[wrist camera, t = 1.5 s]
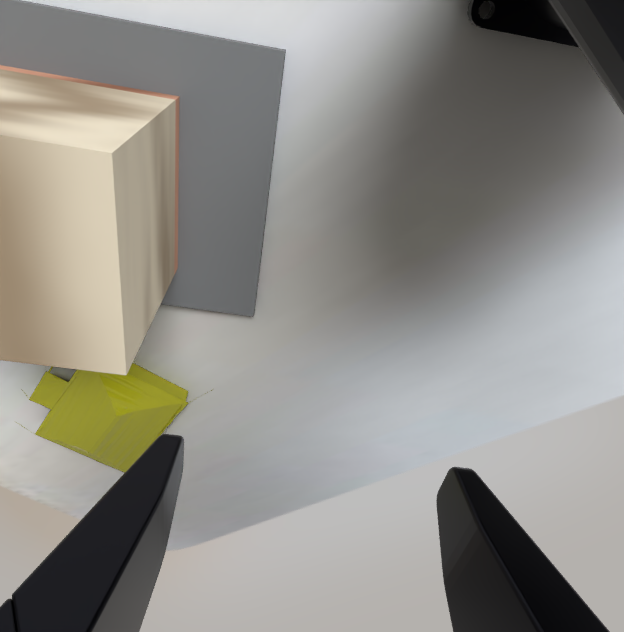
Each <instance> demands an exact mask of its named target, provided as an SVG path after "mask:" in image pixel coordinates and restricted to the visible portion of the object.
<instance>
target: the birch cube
mask: <svg viewBox="0 0 624 632" xmlns="http://www.w3.org/2000/svg"><path fill="white" fill-rule="evenodd" d="M179 98H180V96H174V95H169V94H163V93H157V92H151V91H146V90H140V89H134V88H129V87H123V86H117V85H111V84H106V83H100V82H94V81H89V80H83V79H77V78H71V77H66V76H60V75H54V74H49V73H43V72H37V71H31V70H26V69H20V68H14V67H9V66H3V65H0V360H4V361H12V362H21V363H29V364H37V365H45V366H53V367H62V368H70V369H78V370H86V371H94V372H102V373H111V374H119V375H127V373H128V371H129V369H130V367H131V365H132V363H133V361H134V359H135V357H136V354H137V352H138V350H139V348H140V346H141V344H142V342H143V340H144V338H145V336H146V334H147V331H148V329H149V327H150V325H151V323H152V321H153V319H154V317H155V315H156V313H157V310H158V308H159V306H160V304H161V302H162V300H163V298H164V296H165V294H166V292H167V289H168V287H169V285H170V283H171V281H172V279H173V277H174V275H175V273H176V271H177V269H178V188H179Z"/></svg>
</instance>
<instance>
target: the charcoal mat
mask: <svg viewBox="0 0 624 632" xmlns="http://www.w3.org/2000/svg"><path fill="white" fill-rule="evenodd" d="M285 52H286V50H283V49H278V48H272V47H267V46H262V45H256V44H251V43H246V42H240V41H235V40H230V39H224V38H219V37H214V36H208V35H203V34H198V33H192V32H187V31H182V30H176V29H171V28H166V27H160V26H155V25H150V24H144V23H139V22H134V21H128V20H123V19H118V18H112V17H107V16H102V15H96V14H91V13H86V12H80V11H75V10H70V9H64V8H59V7H54V6H48V5H43V4H38V3H32V2H27V1H21V0H0V65H3V66H9V67H14V68H20V69H26V70H31V71H37V72H43V73H49V74H54V75H60V76H66V77H71V78H77V79H83V80H89V81H94V82H100V83H106V84H111V85H117V86H123V87H129V88H134V89H140V90H146V91H151V92H157V93H163V94H169V95H174V96H180V98H179V188H178V269H177V271H176V273H175V275H174V277H173V279H172V281H171V283H170V285H169V287H168V289H167V292H166V294H165V296H164V298H163V300H162V302H161V304H164V305H171V306H178V307H186V308H193V309H200V310H208V311H215V312H223V313H230V314H237V315H245V316H252V317H254V311H255V303H256V295H257V287H258V278H259V270H260V262H261V253H262V245H263V236H264V228H265V220H266V211H267V203H268V194H269V186H270V178H271V169H272V161H273V152H274V144H275V136H276V127H277V119H278V110H279V102H280V94H281V85H282V77H283V68H284V60H285Z"/></svg>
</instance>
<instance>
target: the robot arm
mask: <svg viewBox="0 0 624 632" xmlns="http://www.w3.org/2000/svg"><path fill="white" fill-rule="evenodd" d="M484 1H488V2H490V5H491V11H490V13H489V15H488V16H486V17H485V18H481V17H480V15H479V7H480V5H481V4H482V3H483V2H484ZM468 17H469V20H470V22H471V23H472V24H473V25H475V26H477V27H481V28H485V29H490V30H495V31H500V32H506V33H511V34H516V35H521V36H526V37H531V38H536V39H541V40H546V41H551V42H556V43H561V44H566V45H571V46H576V47H579V48H580V49H581V51H582V52H583V54H584V55H585V57H586V58H587V60H588V61H589V63H590V64H591V66H592V67H593V69H594V70H595V72H596V73H597V75H598V76H599V78H600V79H601V81H602V82H603V84H604V85H605V87H606V88H607V90H608V92H609V93H610V95H611V96H612V98H613V99H614V101H615V102H616V104H617V105H618V107H619V108H620V110H621V111H622V113H623V114H624V0H470V3H469V6H468ZM183 456H184V439H183V437H182V436H178V435H169V434H162V435H160V436H159V437H158V438H157V439H156V440H155V441H154V442H153V443H152V444H151V445H150V446H149V448H148V449H147V450H146V451H145V452H144V453H143V454H142V455H141V456H140V457H139V458H138V459H137V460H136V462H135V463H134V464H133V465H132V466H131V467H130V468H129V469H128V470H127V471H126V472H125V473H124V474H123V476H122V477H121V478H120V479H119V480H118V481H117V482H116V483H115V484H114V485H113V486H112V487H111V488H110V490H109V491H108V492H107V493H106V494H105V495H104V496H103V497H102V498H101V499H100V500H99V501H98V502H97V504H96V505H95V506H94V507H93V508H92V509H91V510H90V511H89V512H88V513H87V514H86V515H85V516H84V518H83V519H82V520H81V521H80V522H79V523H78V524H77V525H76V526H75V527H74V529H72V530H71V532H70V533H69V534H68V535H67V536H66V537H65V538H64V539H63V540H62V542H60V543H59V545H58V546H57V547H56V548H55V549H54V550H53V551H52V552H51V553H50V554H49V555H48V556H47V557H46V559H45V560H44V561H43V562H42V563H41V564H40V565H39V566H38V567H37V568H36V569H35V570H34V571H33V573H32V574H31V575H30V576H29V577H28V578H27V579H26V580H25V581H24V582H23V583H22V584H21V585H20V587H19V588H18V589H17V590H16V591H15V592H14V593H13V594H12V599H8V600H6V601H5V603H3V605H2V606H1V607H0V632H139V630H140V628H141V625H142V621H143V619H144V616H145V613H146V610H147V607H148V604H149V601H150V598H151V595H152V592H153V589H154V586H155V583H156V580H157V577H158V574H159V571H160V568H161V565H162V561H163V558H164V555H165V551H166V546H167V542H168V538H169V533H170V528H171V524H172V519H173V514H174V510H175V505H176V500H177V496H178V491H179V486H180V482H181V477H182V472H183ZM437 513H438V525H439V536H440V547H441V558H442V569H443V578H444V585H445V591H446V596H447V602H448V607H449V612H450V617H451V621H452V627H453V632H609V630H608V629H607V628H606V627H605V626H604V625H603V623H602V622H601V621H600V620H599V619H598V617H597V616H596V615H595V614H594V613H593V611H592V610H591V609H590V608H589V607H588V605H587V604H586V603H585V602H584V601H583V599H582V598H581V597H580V596H579V595H578V594H577V592H576V591H575V590H574V589H573V588H572V586H571V585H570V584H569V583H568V582H567V580H565V578H564V577H563V576H562V575H561V573H560V572H559V571H558V570H557V569H556V568H555V566H554V565H553V564H552V563H551V562H550V560H549V559H548V558H547V557H546V555H545V554H544V553H543V552H542V551H541V550H540V548H539V547H538V546H537V545H536V544H535V543H534V541H533V540H532V539H531V538H530V536H529V535H528V534H527V533H526V532H525V531H524V529H523V528H522V527H521V526H520V525H519V523H518V522H517V521H516V520H515V519H514V517H513V516H512V515H511V514H510V513H509V511H508V510H507V509H506V508H505V507H504V506H503V504H502V503H501V502H500V501H499V500H498V498H497V497H496V496H495V495H494V494H493V492H492V491H491V490H490V489H489V488H488V487H487V485H486V484H485V483H484V482H483V481H482V479H481V478H480V477H479V476H478V475H477V473H476V472H474V471H473V470H472V469H469V468H460V467H452V468H451V469H450V470H449V471H448V473H447V475H446V477H445V479H444V481H443V483H442V485H441V487H440V489H439V491H438V494H437Z"/></svg>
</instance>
